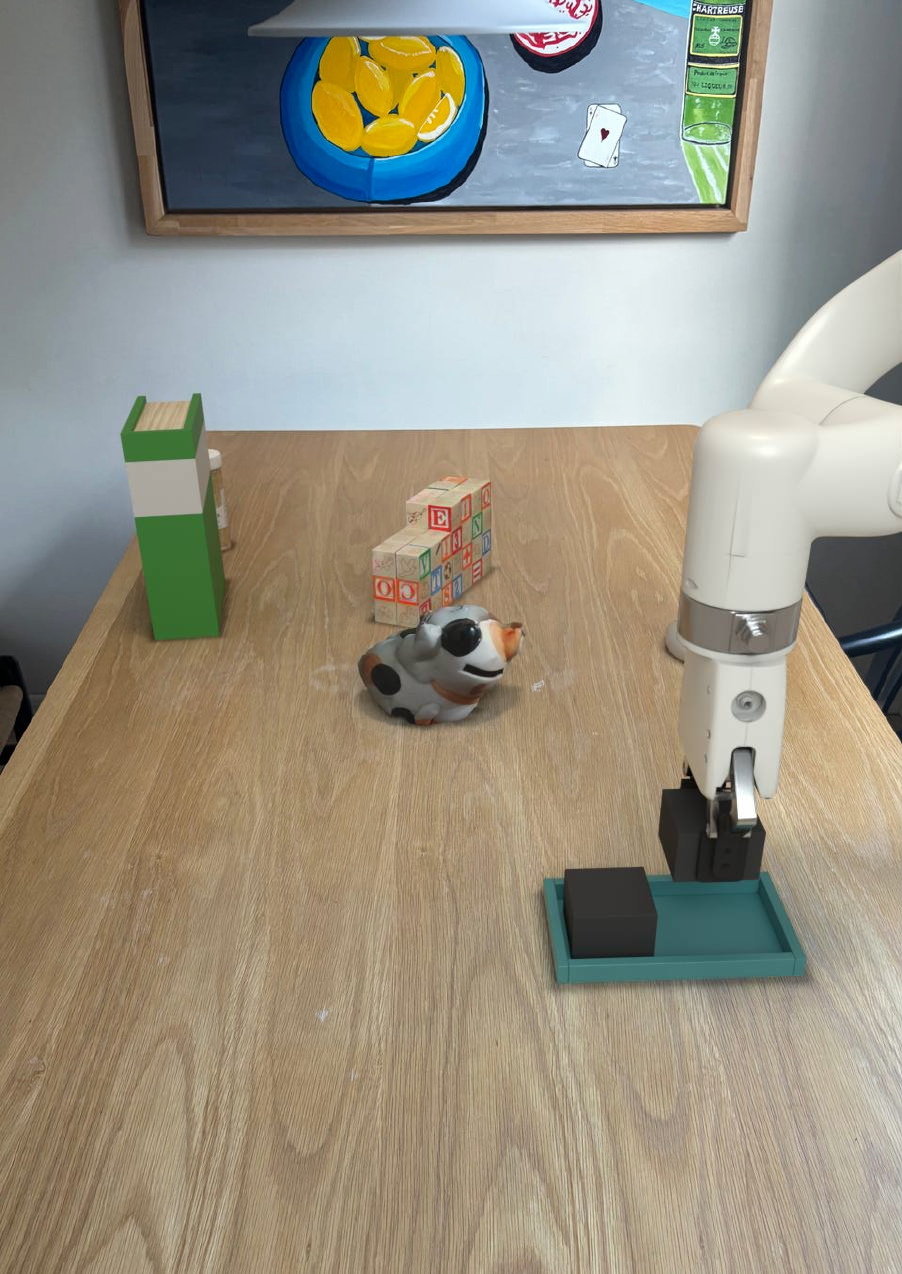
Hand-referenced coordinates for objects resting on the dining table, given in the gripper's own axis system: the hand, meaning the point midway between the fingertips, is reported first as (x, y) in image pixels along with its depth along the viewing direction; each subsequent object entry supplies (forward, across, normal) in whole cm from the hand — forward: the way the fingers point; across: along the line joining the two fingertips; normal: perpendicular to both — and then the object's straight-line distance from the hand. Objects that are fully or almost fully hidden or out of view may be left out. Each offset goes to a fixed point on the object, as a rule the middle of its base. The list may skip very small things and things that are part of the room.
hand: (708, 850), depth 82 cm
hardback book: (+8, +66, +49) cm, 83 cm away
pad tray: (+8, 0, +2) cm, 8 cm away
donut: (+8, +50, -12) cm, 52 cm away
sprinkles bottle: (+8, +89, +49) cm, 102 cm away
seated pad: (+7, 0, +7) cm, 10 cm away
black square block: (+1, 0, 0) cm, 1 cm away
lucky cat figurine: (+8, +40, +18) cm, 45 cm away
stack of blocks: (+8, +69, +19) cm, 72 cm away
